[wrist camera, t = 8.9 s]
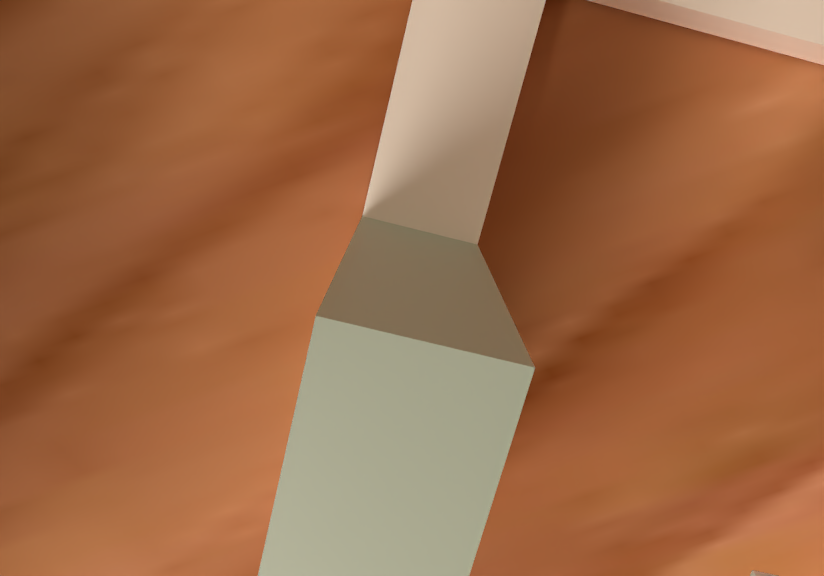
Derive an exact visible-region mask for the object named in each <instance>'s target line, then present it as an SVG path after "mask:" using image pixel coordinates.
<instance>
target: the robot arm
mask: <svg viewBox="0 0 824 576" xmlns="http://www.w3.org/2000/svg"><path fill="white" fill-rule="evenodd" d="M750 576H778V575H773V574H768V573H763V572H759V571H754V570H752V572H751V574H750Z"/></svg>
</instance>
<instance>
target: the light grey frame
mask: <svg viewBox="0 0 824 576" xmlns="http://www.w3.org/2000/svg"><path fill="white" fill-rule="evenodd" d="M587 1H591V2H594V3H598V4H602V5H605V6H609V7H613V8H616V9H620V10H624V11H627V12H631V13H635V14H638V15H642V16H646V17H649V18H653V19H657V20H660V21H664V22H668V23H671V24H675V25H679V26H682V27H686V28H690V29H693V30H697V31H701V32H704V33H708V34H712V35H715V36H719V37H723V38H726V39H730V40H734V41H737V42H741V43H745V44H748V45H752V46H756V47H759V48H763V49H767V50H770V51H774V52H778V53H781V54H785V55H789V56H792V57H796V58H800V59H803V60H807V61H811V62H814V63H818V64H822V65H824V0H587ZM545 2H546V0H412V4H411V9H410V13H409V17H408V22H407V26H406V30H405V35H404V39H403V43H402V47H401V52H400V56H399V60H398V65H397V69H396V73H395V78H394V82H393V86H392V91H391V95H390V99H389V103H388V108H387V112H386V116H385V121H384V125H383V129H382V134H381V138H380V142H379V146H378V151H377V155H376V159H375V164H374V168H373V172H372V177H371V181H370V185H369V190H368V194H367V198H366V202H365V207H364V211H363V215H362V218H361V220H360V222H359V224H358V226H357V229H356V231H355V233H354V235H353V237H352V239H351V241H350V244H349V246H348V248H347V250H346V252H345V254H344V256H343V259H342V261H341V263H340V265H339V267H338V269H337V271H336V274H335V276H334V278H333V280H332V282H331V284H330V287H329V289H328V291H327V293H326V295H325V297H324V299H323V302H322V304H321V306H320V308H319V310H318V312H317V314H316V317H315V322H314V326H313V331H312V335H311V340H310V344H309V349H308V353H307V358H306V362H305V367H304V371H303V376H302V380H301V385H300V389H299V394H298V398H297V403H296V407H295V412H294V416H293V421H292V425H291V430H290V434H289V439H288V443H287V447H286V452H285V456H284V461H283V465H282V470H281V474H280V479H279V483H278V488H277V492H276V497H275V501H274V506H273V510H272V515H271V519H270V524H269V528H268V533H267V537H266V542H265V546H264V551H263V555H262V560H261V564H260V569H259V573H258V576H469V574H470V571H471V568H472V565H473V562H474V559H475V555H476V552H477V549H478V546H479V543H480V540H481V537H482V533H483V530H484V527H485V524H486V521H487V518H488V514H489V511H490V508H491V505H492V502H493V499H494V496H495V492H496V489H497V486H498V483H499V480H500V477H501V473H502V470H503V467H504V464H505V461H506V458H507V455H508V451H509V448H510V445H511V442H512V439H513V436H514V433H515V429H516V426H517V423H518V420H519V417H520V414H521V410H522V407H523V404H524V401H525V398H526V395H527V392H528V388H529V385H530V382H531V379H532V376H533V373H534V369H535V367H534V364H533V362H532V360H531V358H530V356H529V354H528V352H527V349H526V347H525V345H524V343H523V341H522V339H521V337H520V334H519V332H518V330H517V328H516V326H515V324H514V322H513V319H512V317H511V315H510V313H509V311H508V309H507V307H506V304H505V302H504V300H503V298H502V296H501V294H500V292H499V289H498V287H497V285H496V283H495V281H494V279H493V277H492V274H491V272H490V270H489V268H488V266H487V264H486V262H485V259H484V257H483V255H482V253H481V251H480V249H479V247H478V241H479V238H480V234H481V230H482V227H483V223H484V220H485V216H486V213H487V209H488V205H489V202H490V198H491V195H492V191H493V187H494V184H495V180H496V177H497V173H498V170H499V166H500V162H501V159H502V155H503V152H504V148H505V145H506V141H507V137H508V134H509V130H510V127H511V123H512V120H513V116H514V112H515V109H516V105H517V102H518V98H519V95H520V91H521V87H522V84H523V80H524V77H525V73H526V69H527V66H528V62H529V59H530V55H531V52H532V48H533V44H534V41H535V37H536V34H537V30H538V27H539V23H540V19H541V16H542V12H543V9H544V5H545Z"/></svg>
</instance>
